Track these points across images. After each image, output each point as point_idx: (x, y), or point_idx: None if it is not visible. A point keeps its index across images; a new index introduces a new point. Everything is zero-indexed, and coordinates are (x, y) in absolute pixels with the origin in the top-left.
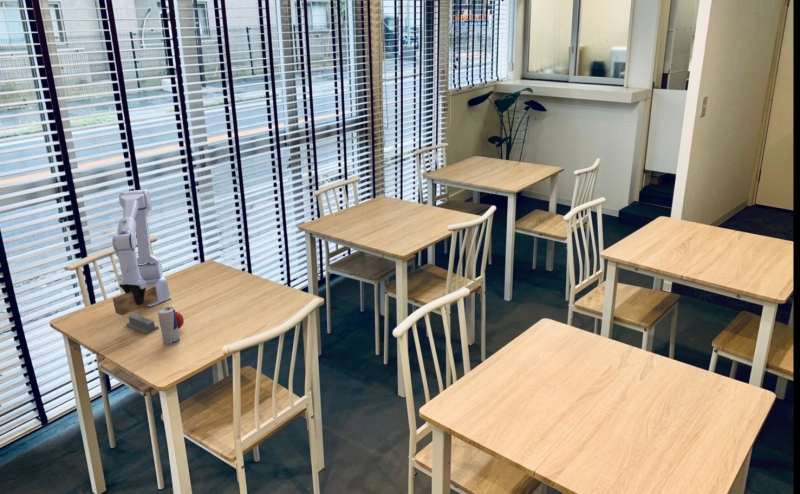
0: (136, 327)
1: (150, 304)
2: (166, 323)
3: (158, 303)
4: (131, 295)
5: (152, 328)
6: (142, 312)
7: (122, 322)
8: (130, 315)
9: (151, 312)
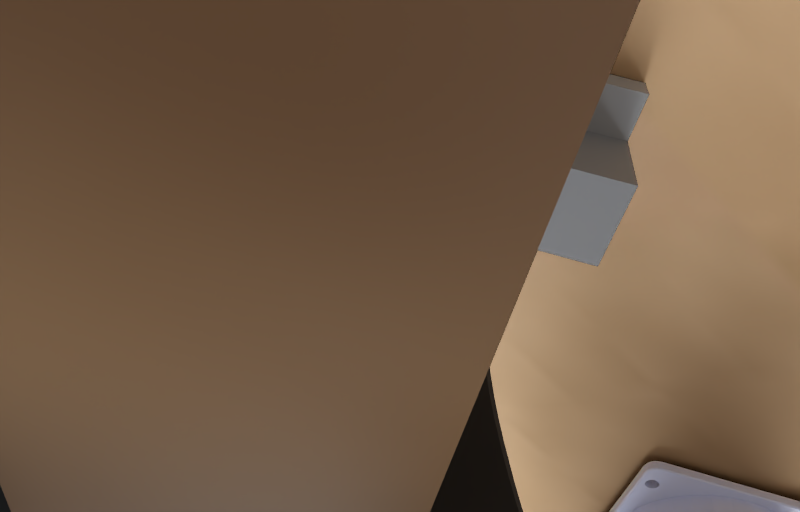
0: None
1: (672, 489)
2: None
3: (613, 507)
4: (21, 437)
5: None
6: (668, 374)
7: (777, 139)
8: (619, 210)
9: (565, 385)
